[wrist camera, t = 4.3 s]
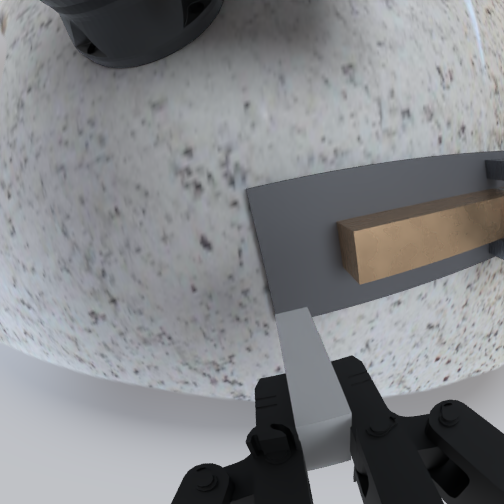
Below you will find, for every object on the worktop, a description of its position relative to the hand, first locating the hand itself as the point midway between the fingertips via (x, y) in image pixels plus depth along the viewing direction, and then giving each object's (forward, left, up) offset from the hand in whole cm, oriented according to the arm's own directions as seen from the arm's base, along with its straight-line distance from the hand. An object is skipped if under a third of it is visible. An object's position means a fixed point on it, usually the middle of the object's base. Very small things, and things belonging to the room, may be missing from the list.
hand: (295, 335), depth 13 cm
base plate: (+19, 0, -12) cm, 22 cm away
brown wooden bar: (+17, 0, -11) cm, 20 cm away
